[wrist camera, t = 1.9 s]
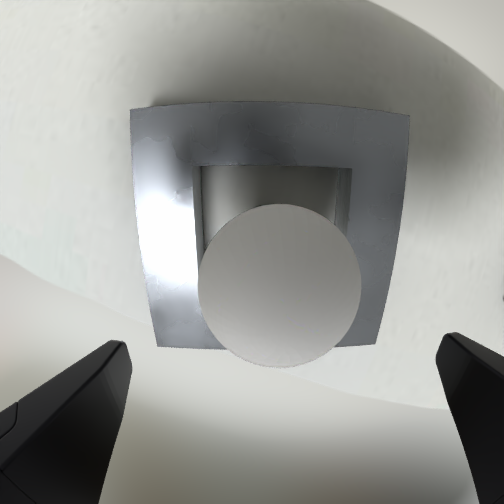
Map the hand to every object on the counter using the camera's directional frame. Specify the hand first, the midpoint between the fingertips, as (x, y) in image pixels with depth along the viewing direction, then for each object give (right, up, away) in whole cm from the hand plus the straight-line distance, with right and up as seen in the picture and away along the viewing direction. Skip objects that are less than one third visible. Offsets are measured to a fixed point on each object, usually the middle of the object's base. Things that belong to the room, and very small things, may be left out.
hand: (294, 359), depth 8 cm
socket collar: (0, +4, +10) cm, 11 cm away
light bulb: (0, +4, +10) cm, 11 cm away
